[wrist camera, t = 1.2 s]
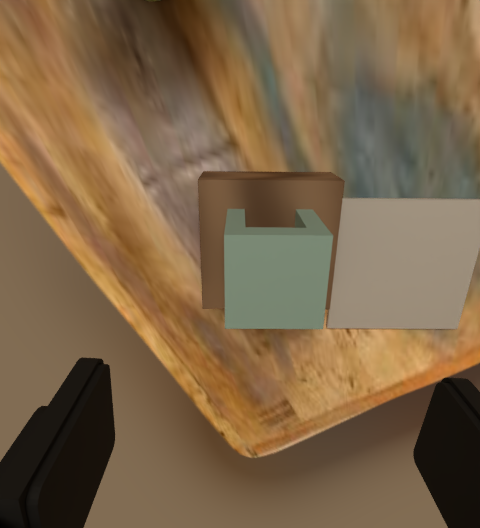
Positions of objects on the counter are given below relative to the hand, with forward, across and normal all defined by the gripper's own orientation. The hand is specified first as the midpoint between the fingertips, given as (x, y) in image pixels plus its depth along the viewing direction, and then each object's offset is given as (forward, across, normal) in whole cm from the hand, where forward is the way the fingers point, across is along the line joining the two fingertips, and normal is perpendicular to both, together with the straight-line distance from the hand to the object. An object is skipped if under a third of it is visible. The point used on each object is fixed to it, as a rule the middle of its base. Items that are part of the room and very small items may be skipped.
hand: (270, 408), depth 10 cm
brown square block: (+21, -1, +1) cm, 21 cm away
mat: (+21, -14, +3) cm, 25 cm away
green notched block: (+17, -1, +1) cm, 17 cm away
